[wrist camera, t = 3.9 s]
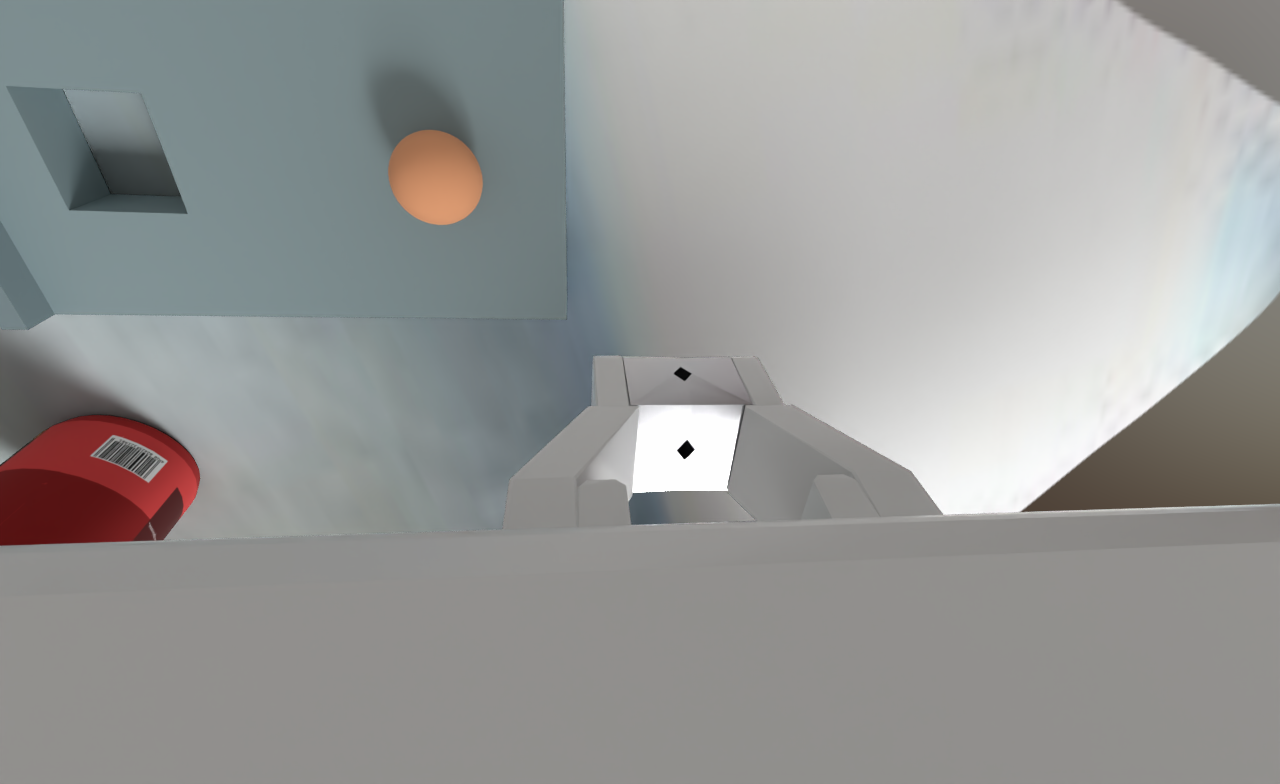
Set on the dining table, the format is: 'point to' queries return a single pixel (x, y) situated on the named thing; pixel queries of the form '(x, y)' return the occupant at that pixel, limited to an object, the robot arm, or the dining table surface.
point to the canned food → (95, 484)
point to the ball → (435, 177)
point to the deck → (283, 159)
